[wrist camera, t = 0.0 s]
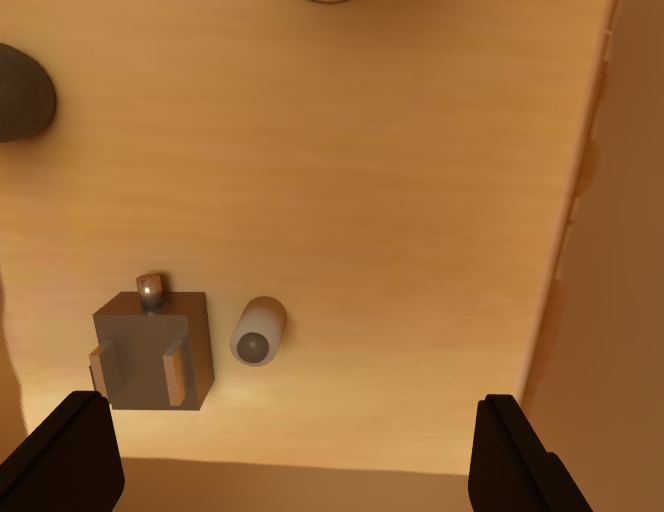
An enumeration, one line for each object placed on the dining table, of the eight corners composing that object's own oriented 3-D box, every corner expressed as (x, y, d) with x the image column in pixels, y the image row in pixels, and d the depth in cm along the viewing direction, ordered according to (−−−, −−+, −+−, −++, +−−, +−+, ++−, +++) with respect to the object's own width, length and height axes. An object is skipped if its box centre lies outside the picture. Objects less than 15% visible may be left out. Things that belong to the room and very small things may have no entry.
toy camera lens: (243, 296, 50) (225, 328, 42) (285, 296, 50) (275, 328, 42) (246, 333, 51) (229, 370, 44) (286, 333, 51) (277, 370, 44)
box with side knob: (97, 268, 49) (45, 300, 40) (202, 268, 49) (172, 301, 40) (119, 378, 54) (76, 427, 45) (214, 378, 53) (190, 429, 45)
